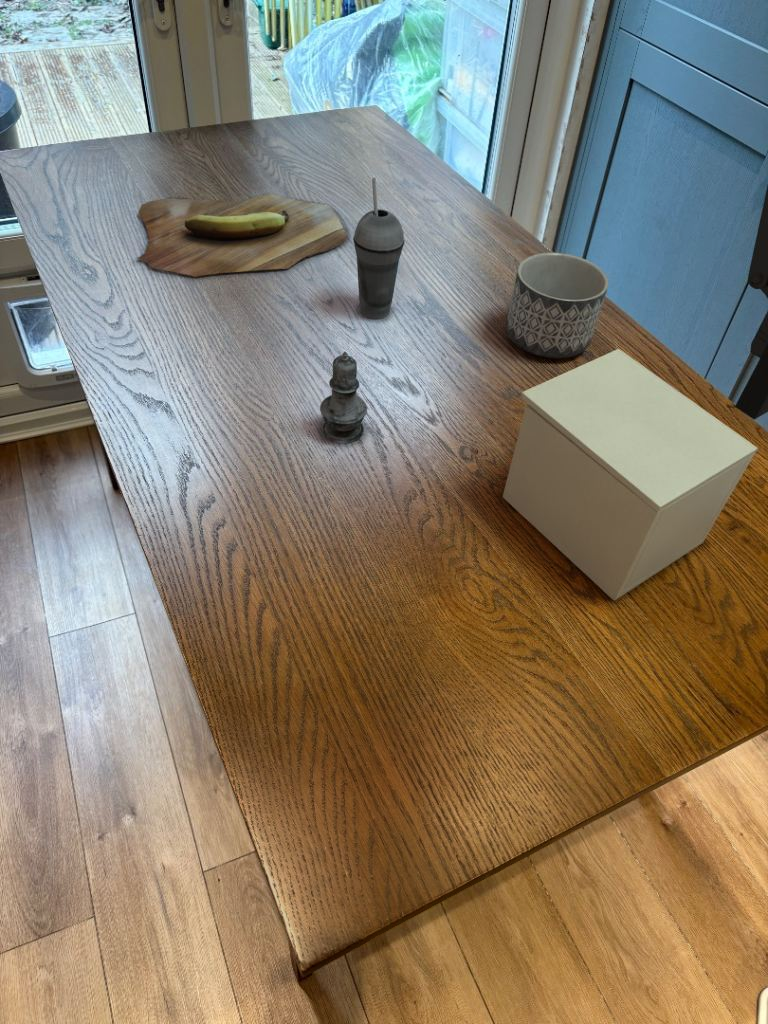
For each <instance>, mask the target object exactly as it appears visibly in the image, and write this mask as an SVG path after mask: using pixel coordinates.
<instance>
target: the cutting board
mask: <svg viewBox="0 0 768 1024" xmlns="http://www.w3.org/2000/svg"><path fill="white" fill-rule="evenodd" d="M138 214H139V216H140V218H141V219H142V222H143V223H144V225H145V228H146V231H147V235H148V242H147V245H146V248H145V252H144V253H143V254H141V255H140V256H138V257H137V258H136V259H137V260H142V261H144V262H145V263H147V264H148V265H149V266H150V267H151V268H152V269H156V270H160V271H168V272H172V273H177V274H182V275H183V274H184V275H187V276H191V277H195V278H197V277H201V276H207V275H208V276H209V275H215V274H224V273H225V274H226V273H227V274H228V273H239V272H241V273H242V272H253V271H254V272H255V271H267V270H268V271H269V270H285V269H290V268H291V267H292V266H294V265H296V264H297V263H298V262H300V261H301V260H303V259H305V258H306V257H308V258H309V257H313V256H315V255H317V254H320V253H324V252H328V251H330V250H332V249H334V248H337V247H339V246H341V245H342V244H343V243H345V241H346V240H347V233H346V230H345V228H344V226H343V225H342V223H341V219H340V218H339V217H338V215H337V214H336V212H335V211H334V209H333V208H332V206H330V205H329V204H323V203H316V202H310V201H306V200H299V199H295V198H289V197H284V196H280V195H277V194H262V195H261V194H260V195H258V196H253V197H252V198H251V197H250V198H248V199H243V200H237V201H230V200H229V201H228V200H217V199H193V198H177V197H172V198H163V199H155V200H150V201H148V202H147V201H146V202H145V203H143V204H141V205H140V208H139V210H138Z"/></svg>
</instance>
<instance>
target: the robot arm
mask: <svg viewBox="0 0 768 1024" xmlns="http://www.w3.org/2000/svg"><path fill="white" fill-rule="evenodd" d="M747 282H748V285H749V286H750V287H751V288H752V289H754V290H760V291H761V292H762V293H763V295H764V296H765V297H766V299H768V184H767V186H766V191H765V195H764V201H763V203H762V209H761V213H760V218H759V224H758V228H757V233H756V237H755V241H754V248H753V251H752V255H751V260H750V265H749V270H748V275H747ZM750 353H751V354H752V355H754V356H756V357H757V358H758V361H757V363H756V365H755V367H754V369H753V370H752V372H751V374H750V376H749V378H748V380H747V382H746V384H745V387H744V388H743V390H742V392H741V394H740V396H739V397H738V400H737V402H736V403H735V405H734V408H736V409H737V410H739V411H741V412H742V413H743V414H744V415H746V416H748V417H749V418H751V419H752V420H757V419H759V418H760V417H762V416H763V415H765V414H767V413H768V310H767V311H766V312H765V315H764V317H763V319H762V321H761V323H760V325H759V327H758V329H757V331H756V333H755V335H754V336H753V339H752V341H751V343H750Z"/></svg>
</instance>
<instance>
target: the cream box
mask: <svg viewBox="0 0 768 1024" xmlns="http://www.w3.org/2000/svg"><path fill="white" fill-rule="evenodd" d="M754 456H755V454H753V455H751V456H750V457H748V458H746V459H745V460H743V461H741V462H740V463H738V464H737V465H735V466H733V467H732V468H730V469H728V470H727V471H725V472H723V473H722V474H720V475H718V476H717V477H715V478H713V479H712V480H710V481H709V482H707V483H705V484H704V485H702V486H700V487H699V488H697V489H695V490H694V491H692V492H690V493H689V494H687V495H685V496H684V497H682V498H680V499H679V500H677V501H676V502H674V503H672V504H671V505H669V506H667V507H666V508H664V509H662V510H661V511H659V512H657V511H655V510H654V509H653V508H652V507H651V506H649V505H648V504H647V503H646V502H645V501H643V500H642V499H641V498H640V497H639V496H637V495H636V494H635V493H634V492H633V491H631V490H630V489H629V488H628V487H627V486H625V485H624V484H623V483H622V482H621V481H619V480H618V479H617V478H616V477H615V476H613V475H612V474H611V473H610V472H609V471H607V470H606V469H605V468H604V467H603V466H601V465H600V464H599V463H598V462H597V461H595V460H594V459H593V458H592V457H591V456H589V455H588V454H587V453H586V452H585V451H583V450H582V449H581V448H580V447H579V446H578V445H576V444H575V443H574V442H573V441H572V440H570V439H569V438H568V437H567V436H566V435H564V434H563V433H562V432H561V431H560V430H558V429H557V428H556V427H555V426H554V425H552V424H551V423H550V422H549V421H548V420H546V419H545V418H544V417H543V416H542V415H540V414H539V413H538V412H537V411H536V410H534V409H533V408H532V407H531V406H530V405H528V404H527V405H525V407H524V412H523V416H522V420H521V423H520V426H519V431H518V435H517V438H516V443H515V447H514V451H513V455H512V459H511V462H510V467H509V470H508V474H507V478H506V482H505V485H504V490H503V494H502V499H504V500H505V501H506V502H507V503H508V504H509V505H510V506H511V507H512V508H513V509H514V510H516V512H518V513H519V514H520V515H521V516H522V517H523V518H524V519H525V520H527V522H529V523H530V524H531V525H532V527H534V528H535V529H536V530H537V531H538V532H539V533H540V534H542V535H543V537H545V538H546V539H547V540H548V541H549V542H550V543H551V544H552V545H553V546H554V547H556V548H557V549H558V550H559V551H560V552H561V553H562V554H563V555H564V557H566V558H567V559H568V560H570V562H571V563H573V564H574V566H576V567H577V568H578V569H579V570H580V571H581V572H583V573H584V575H585V576H587V577H588V578H589V579H590V580H591V581H592V582H593V583H594V584H595V585H597V587H599V589H600V590H602V591H603V592H604V593H605V594H606V595H607V596H608V597H609V598H610V599H611V600H612V601H617V600H618V599H619V598H622V597H623V596H624V595H626V594H627V593H629V592H631V590H633V589H635V588H636V587H638V586H639V585H641V584H642V583H644V582H645V581H647V580H649V579H650V578H651V577H653V576H655V575H656V574H657V573H659V572H661V571H662V570H663V569H665V568H667V567H668V566H670V565H671V564H673V563H674V562H676V561H678V560H679V559H681V558H682V557H683V556H685V555H687V554H688V553H690V552H691V551H693V550H694V549H695V548H697V547H699V546H700V545H702V544H703V543H704V542H705V540H706V539H707V536H708V535H709V533H710V532H711V529H712V528H713V526H714V524H715V522H716V521H717V519H718V517H719V516H720V515H721V512H722V511H723V509H724V507H725V505H727V502H728V500H729V499H730V497H731V495H732V493H733V491H734V490H735V489H736V487H737V485H738V483H739V482H740V480H741V478H742V476H743V475H744V473H745V472H746V470H747V467H748V466H749V464H750V462H751V461H752V459H753V457H754Z"/></svg>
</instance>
